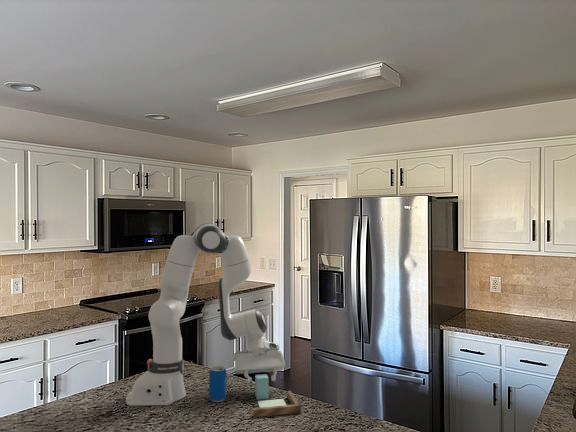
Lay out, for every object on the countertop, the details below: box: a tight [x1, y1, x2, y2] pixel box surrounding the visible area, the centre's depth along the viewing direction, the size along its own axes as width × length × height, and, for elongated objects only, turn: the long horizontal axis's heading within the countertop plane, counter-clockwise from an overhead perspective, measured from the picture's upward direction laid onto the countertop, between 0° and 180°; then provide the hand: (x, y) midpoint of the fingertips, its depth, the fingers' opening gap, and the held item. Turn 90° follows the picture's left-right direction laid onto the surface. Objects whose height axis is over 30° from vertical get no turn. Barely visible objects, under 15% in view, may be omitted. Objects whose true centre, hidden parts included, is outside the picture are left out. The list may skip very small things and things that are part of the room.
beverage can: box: [208, 365, 227, 403], centre depth 173 cm, size 6×6×12 cm
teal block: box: [254, 373, 270, 400], centre depth 176 cm, size 4×4×8 cm
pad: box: [257, 398, 287, 408], centre depth 167 cm, size 10×10×1 cm
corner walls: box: [252, 390, 302, 418], centre depth 166 cm, size 17×15×2 cm
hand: (262, 381), depth 177 cm, fingers open, 8 cm apart
